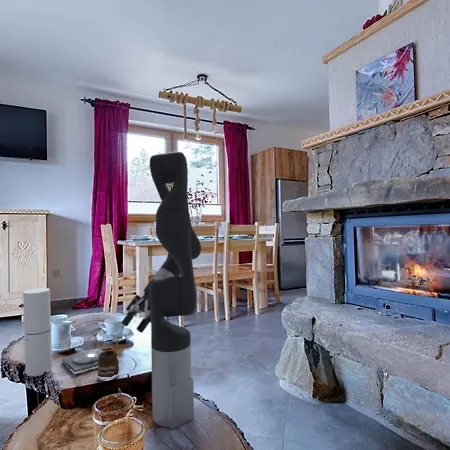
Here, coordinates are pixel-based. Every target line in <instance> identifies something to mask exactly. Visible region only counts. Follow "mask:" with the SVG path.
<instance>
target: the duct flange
mask: <svg viewBox="0 0 450 450" xmlns="http://www.w3.org/2000/svg"><path fill="white" fill-rule="evenodd" d="M98 349H99V350H98ZM102 352H104V349H102V348H101V347H100V346H97V347H96V348H92V349H84V350H81V351H78V352H77V353H74V354H70V355H67V356H64V357H62V358H61V359H62V360H61V363H62V362H63V363H64V364H65V365H67V366H68V367H69V368H70V369H72V370H73V371H74V372H77V371H80V370H85V369H89V368H92V367H96V366H98V361H99V354H100V353H102ZM63 363H62V364H63ZM64 364H63V365H64ZM65 365H64V366H65Z"/></svg>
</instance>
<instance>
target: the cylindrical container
mask: <svg viewBox="0 0 450 450" xmlns="http://www.w3.org/2000/svg"><path fill="white" fill-rule="evenodd" d="M50 290H51V289H50V288H47V287H40V288H39V287H38V288H37V287H36V288H31V289H30V288H29V289H26V290H24V291H22V294H23V296H22V297H23V301H22V302H23V324H24V325H23V327H24V330H23V331H24V357H25V358H24V359H25V360H24V362H25V375H26V376H29V377H39V376H42V375H44V374H43V373H44V372H45V371H47V370H50V369H51V368H52V369H53V351H52V349H53V347H52V321H51V320H52V318H51V292H50Z"/></svg>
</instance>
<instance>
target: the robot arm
mask: <svg viewBox="0 0 450 450" xmlns="http://www.w3.org/2000/svg"><path fill="white" fill-rule="evenodd" d="M149 170H150V175H151V178H152V182H153V184H154V186H155V188H156V190H157V193H158V196H159V199H160V200H161V203H159V206H158V208H157V210H156V212H155V235H156V238H157V240H158V242H159V243H160V245H161V246H162V247H163V248H164V249H165V251H166V252H167V253H168V254H167V256H166V259H165V260H164V262H163V263H162V265H161V266H160V267H159V269H158V270H157V271H156V272H155V273H154V274H153V276H152V278H151V279H150V280H149V282H148V284H147V285H146V286H145V287H144V289H143V295H142V296H140V295H139V294H136V295H135V296H134V297H133V299H132V300H130V303H129V304H127V306H126V308H125V310H126V311H127V314H126V315H125V317H124V318H123V320H122V321H121V324H122V325H123V326H124V327H128V326H129V324H130V323H131V321H132V320H133V319H134V317H135V316H137V314H141V313H144V316H143V317H144V318H142V320H140V323H138V325H137V326H136V331H138V332H139V333H143V332H144V331H145V329H147V327H148V325H149V324H150V328H151V329H150V330H151V331H150V338H151V340H150V344H151V346H150V347H151V351H150V352H151V395H152V396H151V397H152V398H151V401H152V404H151V405H152V420H153V422H154V423H155V424H156V425H158V426H160V427H163V428H169V429H171V430H175V429H177V428H178V427H180V426H182V425H184V424H185V423H188V422H190V421H191V420H193V419H194V418H195V399H194V398H195V395H194V391H195V390H194V386H195V385H194V379H193V377H192V347H191V346H192V344H191V343H192V341H191V340H192V339H191V337H192V336H191V332H190V331H189V330H188V329H187V328H185V327H183V326H182V325H181V326H180V325H176V324H174V323H172V322H170V321H169V320H167V319H166V318H168V317H169V318H171V317H172V318H174V317H184V316H185V317H186V316H191V315H193V314H194V313H195V311H196V308H197V290H196V289H197V288H196V282H195V281H196V280H195V272H194V265H193V261H194V260H196V259H197V258H199V256H200V254H201V252H202V244H201V242H200V239H199V238H198V236H197V233H196V232H195V230H194V229H193V226H192V222H191V221H192V220H191V216H190V208H189V198H188V183H189V181H188V176H189V175H188V174H189V172H188V170H189V169H188V160H187V157H186V155H185V154H184V153H183V152H182V151H169V152H163V153H156V154H153V155H151V156H150V157H149ZM172 183H173V184H172ZM167 184H172V187H171V189H169V188H168V186H167Z"/></svg>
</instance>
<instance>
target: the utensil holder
mask: <svg viewBox="0 0 450 450" xmlns="http://www.w3.org/2000/svg"><path fill="white" fill-rule="evenodd" d="M119 340H120V335H118V337H117V339H116V343H115V346H114V350H113V349H112V350H111V349H110V350H106V349H105V347H104V346H105V344H106V342H105V341H103V340H102V339H100V340H99V342H102V341H103V342H104V343H103V344H102V348H103V349H102V350H103V351H104V352H102V353H100V354H99V361H98V368H97V377H98V376H100V377H112V376H114V375H117V374H118V373H120V372H119V371H120V367H119V366H120V364H119V358H118V353H117V347H118V345H119ZM99 342H97V343H96V344H97V347H99V344H98V343H99ZM98 350H99V349H98Z"/></svg>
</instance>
